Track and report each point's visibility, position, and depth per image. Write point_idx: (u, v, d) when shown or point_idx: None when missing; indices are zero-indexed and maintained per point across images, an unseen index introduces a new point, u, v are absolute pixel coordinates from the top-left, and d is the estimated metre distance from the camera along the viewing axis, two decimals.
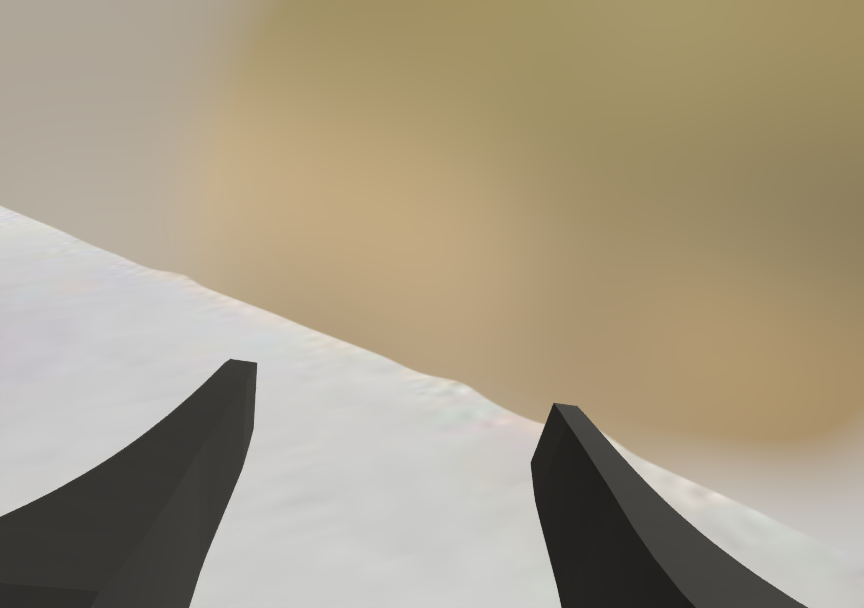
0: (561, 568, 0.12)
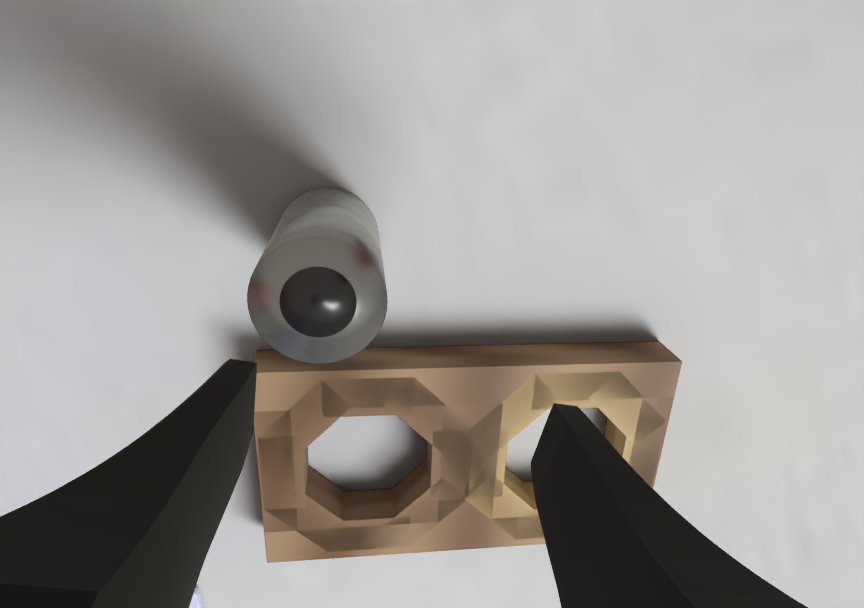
0: (561, 568, 0.12)
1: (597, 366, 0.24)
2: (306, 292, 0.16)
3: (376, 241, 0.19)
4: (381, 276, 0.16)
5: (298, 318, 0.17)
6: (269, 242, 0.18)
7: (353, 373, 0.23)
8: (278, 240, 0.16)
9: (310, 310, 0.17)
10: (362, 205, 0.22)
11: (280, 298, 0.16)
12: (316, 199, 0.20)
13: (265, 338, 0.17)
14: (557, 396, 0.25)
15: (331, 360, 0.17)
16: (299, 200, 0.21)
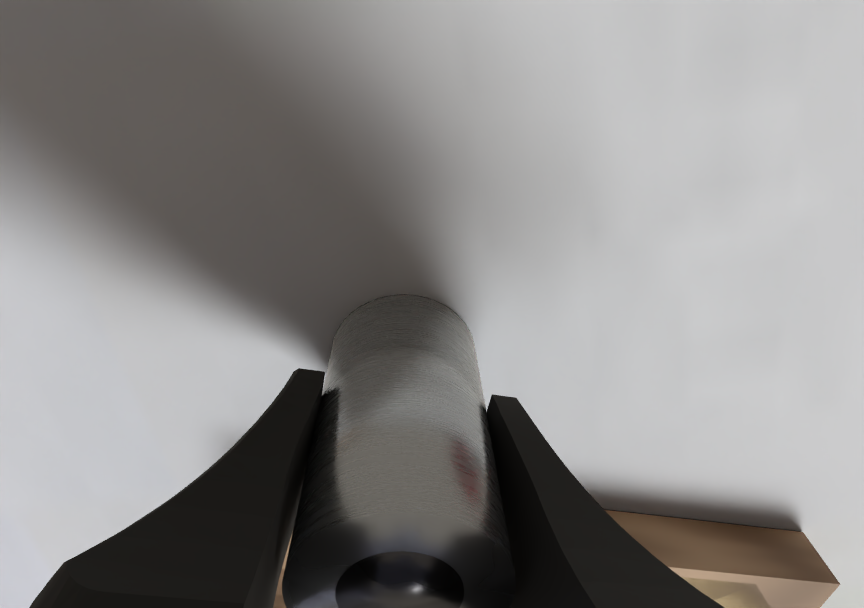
0: None
1: (729, 575, 0.18)
2: (383, 580, 0.10)
3: (489, 434, 0.12)
4: (513, 572, 0.10)
5: None
6: (329, 448, 0.11)
7: None
8: (350, 485, 0.09)
9: (382, 601, 0.10)
10: (464, 334, 0.15)
11: (338, 583, 0.10)
12: (404, 339, 0.13)
13: None
14: None
15: None
16: (375, 323, 0.14)
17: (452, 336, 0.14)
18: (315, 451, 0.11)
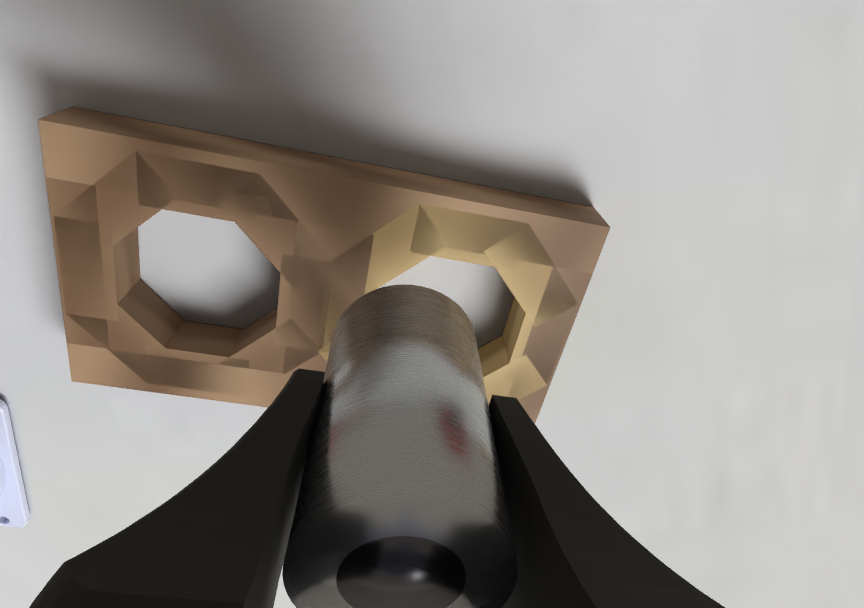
0: None
1: (501, 210, 0.19)
2: (383, 566, 0.10)
3: (489, 417, 0.12)
4: (514, 552, 0.10)
5: (365, 597, 0.10)
6: (325, 439, 0.11)
7: (179, 151, 0.18)
8: (343, 473, 0.09)
9: (385, 588, 0.10)
10: (461, 320, 0.15)
11: (338, 572, 0.10)
12: (398, 327, 0.13)
13: None
14: (445, 241, 0.20)
15: None
16: (370, 314, 0.14)
17: (448, 322, 0.14)
18: (312, 443, 0.11)
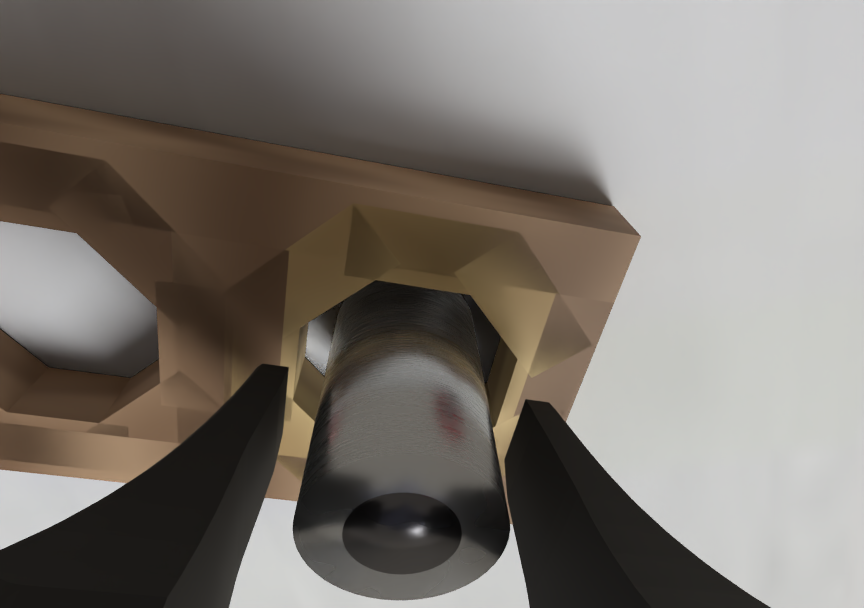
0: (529, 565, 0.12)
1: (477, 212, 0.13)
2: (385, 522, 0.10)
3: (484, 390, 0.13)
4: (506, 508, 0.10)
5: (369, 552, 0.11)
6: (331, 408, 0.11)
7: None
8: (348, 436, 0.10)
9: (387, 543, 0.11)
10: (459, 303, 0.15)
11: (344, 527, 0.10)
12: (399, 308, 0.14)
13: (315, 570, 0.11)
14: (395, 258, 0.13)
15: (409, 597, 0.11)
16: (373, 296, 0.15)
17: (446, 304, 0.15)
18: (319, 413, 0.12)
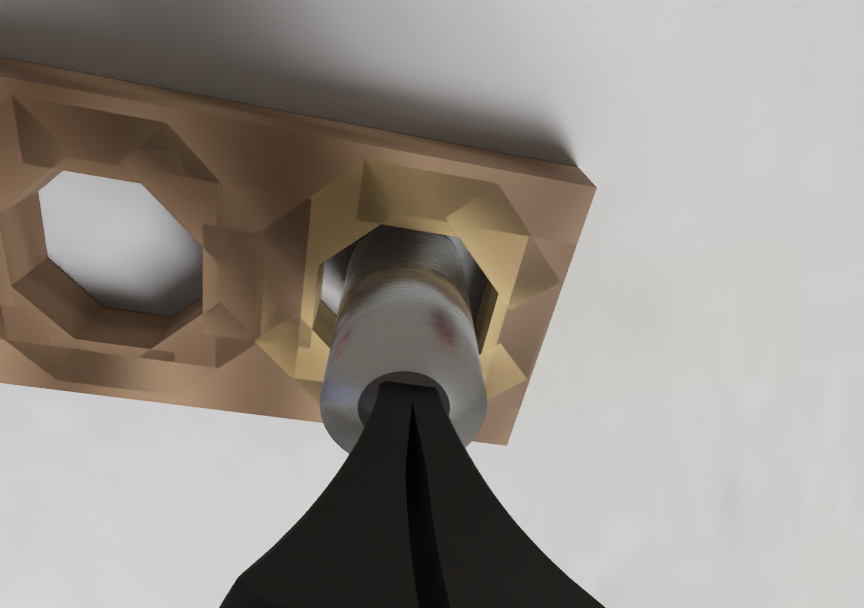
0: None
1: (464, 167, 0.16)
2: None
3: (470, 312, 0.16)
4: (483, 386, 0.13)
5: None
6: (347, 317, 0.15)
7: (65, 94, 0.14)
8: (362, 330, 0.13)
9: None
10: (450, 248, 0.18)
11: (359, 401, 0.13)
12: (401, 247, 0.17)
13: (336, 439, 0.14)
14: (397, 206, 0.16)
15: None
16: (379, 241, 0.18)
17: (439, 247, 0.18)
18: (337, 324, 0.15)
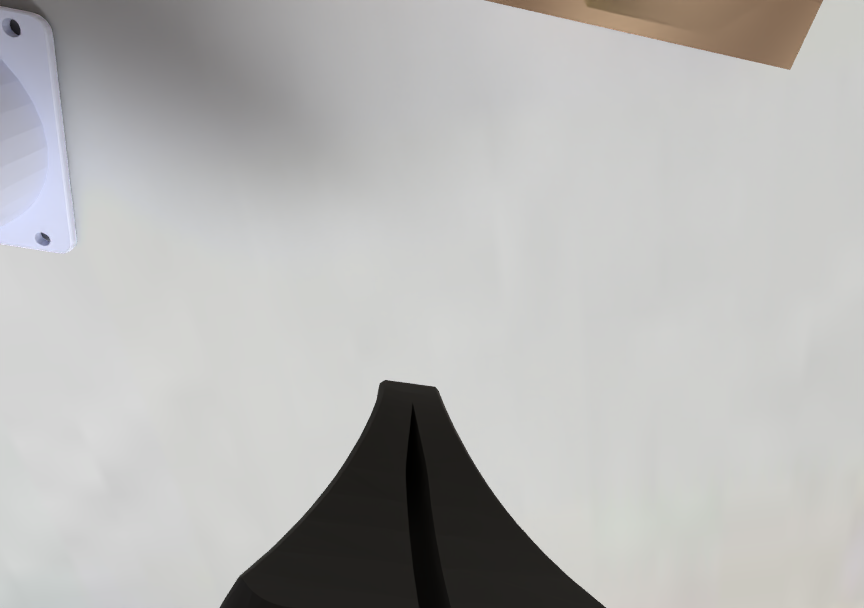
0: None
1: None
2: None
3: None
4: None
5: None
6: None
7: None
8: None
9: None
10: None
11: None
12: None
13: None
14: None
15: None
16: None
17: None
18: None
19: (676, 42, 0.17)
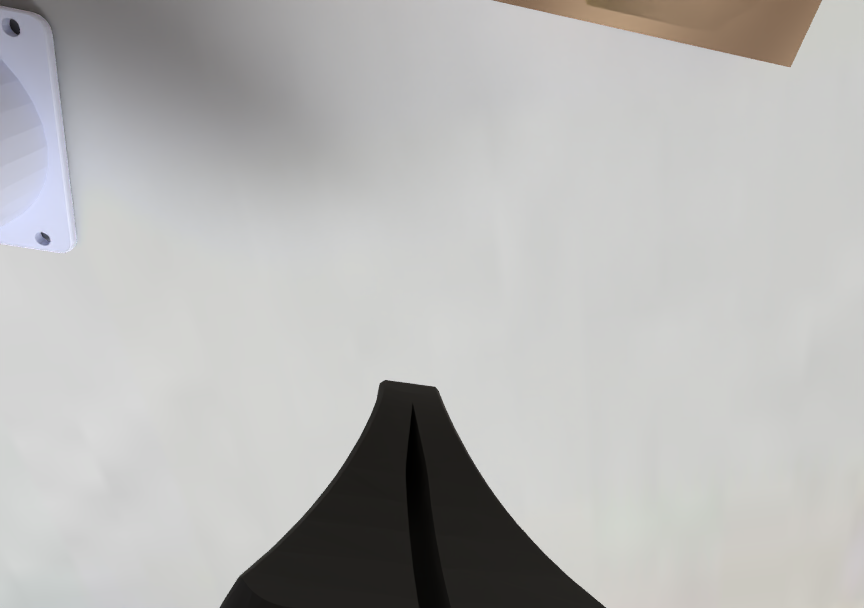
0: None
1: None
2: None
3: None
4: None
5: None
6: None
7: None
8: None
9: None
10: None
11: None
12: None
13: None
14: None
15: None
16: None
17: None
18: None
19: (676, 40, 0.17)
